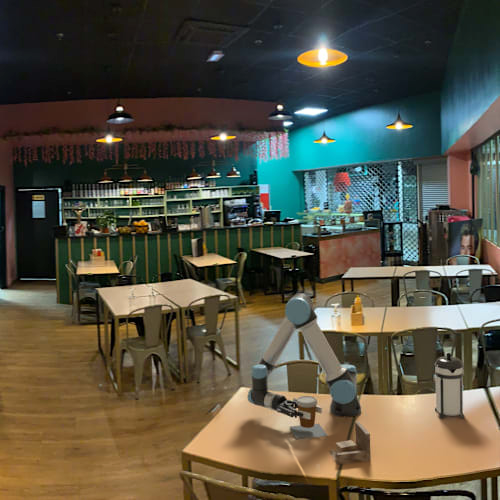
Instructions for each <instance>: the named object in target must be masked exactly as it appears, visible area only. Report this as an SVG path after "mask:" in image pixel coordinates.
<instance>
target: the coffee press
mask: <svg viewBox="0 0 500 500" xmlns="http://www.w3.org/2000/svg"><path fill="white" fill-rule="evenodd" d="M434 367H435V370H434V374H435V375H434V376H435V407H434V411H435V412H438V413H439V419H442V420H444V418H445V416H450V417H451V416H452V417H453V416H454V417H455V416H458V417H459V418H460V419H462V420H463V419H465V415H464V413H463V411H464V390H463V389H464V386H463V384H464V383H463V382H464V381H463V380H464V379H463V377H464V371H463V368H464V363H463V362H462V360H461V359H460V358H458V357H454V356H452V353H450V352H447V353H446V354H445V356H440V357H438V358H436V360H435V362H434Z"/></svg>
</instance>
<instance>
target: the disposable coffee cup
mask: <svg viewBox="0 0 500 500" xmlns="http://www.w3.org/2000/svg"><path fill="white" fill-rule="evenodd" d="M296 399H297V401H296V403H297V405H298V408H297V411H298V410H301V411H305V412H308V413H311V419H310V420H309V419H306V418H302V417H299V416H298V418H299V424H300V425H301V426H302V427H304V428H311V427H313V426H314V424H316V422H315V421H316V414H317V412H316V406H318V405H317V404H318V400H317V398H316V397H315V396H311V395H303V396H299V397H297V398H296ZM300 425H299V426H300Z"/></svg>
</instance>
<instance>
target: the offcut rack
mask: <svg viewBox="0 0 500 500" xmlns="http://www.w3.org/2000/svg"><path fill="white" fill-rule="evenodd" d="M354 422H355V423H354V424H355V425H354V426H355V444H357V449H358V451H352V452H343V453H336V450H335V449H334V450H333V449H332V450H328V452H329V454H330V455H331V456H332V458H333V460H334V461H335V463H336V464H337V465H346V464H353V463H362V462H368V461H371V456H372V455H371V433H370V432H369V431H368V430H367V429H366V428H365V426H364V425H363V424H362V423H361V422H360V421H354Z"/></svg>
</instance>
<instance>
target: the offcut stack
mask: <svg viewBox="0 0 500 500" xmlns="http://www.w3.org/2000/svg"><path fill="white" fill-rule="evenodd" d="M334 450H336V453H343V452H352V451H358V449H357V444H356V442H354V441H353V440H352V439H349V440H343V441H338V442H335V449H334Z"/></svg>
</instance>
